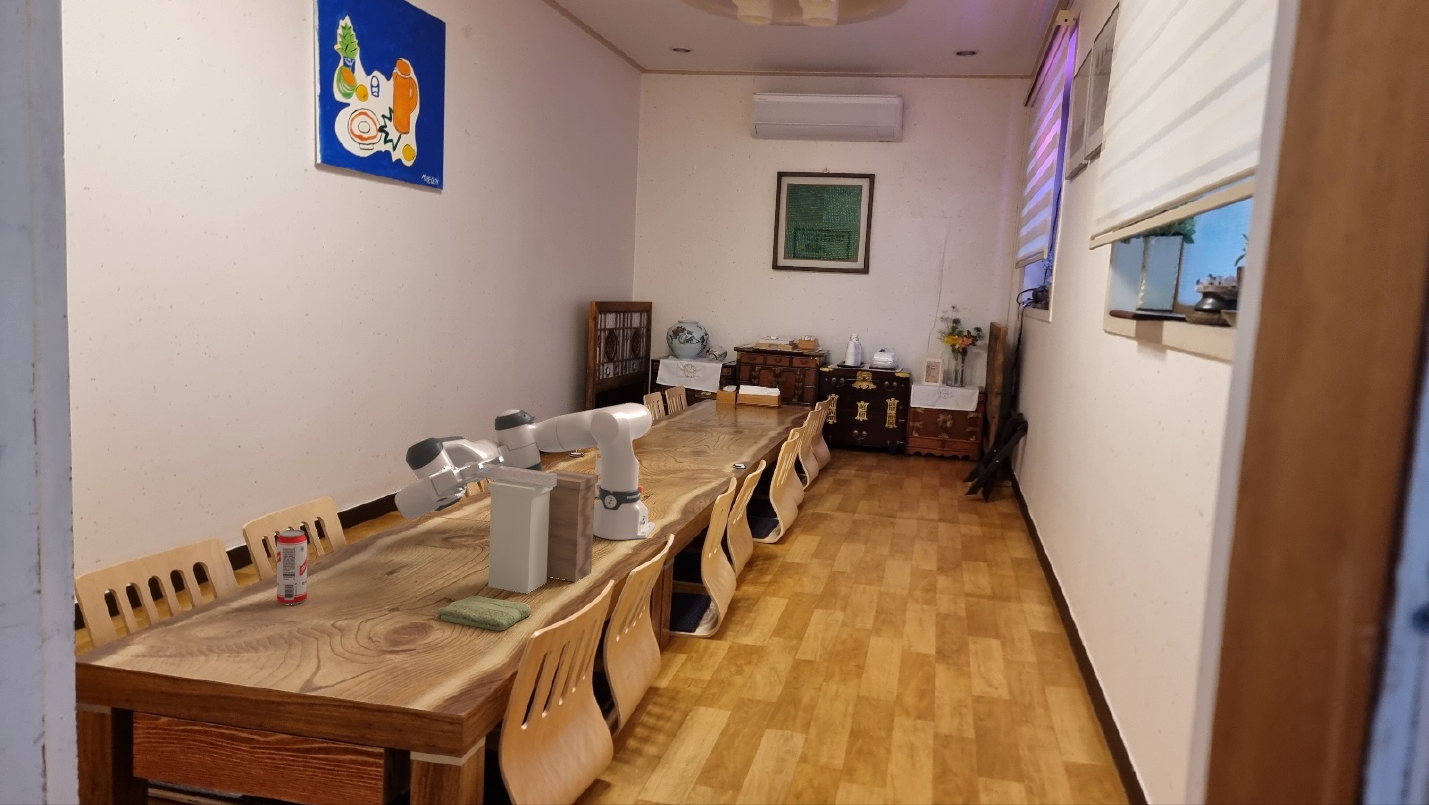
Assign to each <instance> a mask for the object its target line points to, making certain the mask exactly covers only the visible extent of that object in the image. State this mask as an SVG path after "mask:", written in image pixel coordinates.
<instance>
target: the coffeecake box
mask: <svg viewBox="0 0 1429 805" xmlns="http://www.w3.org/2000/svg"><path fill="white" fill-rule="evenodd" d="M594 464H595V465H594V466H595V467H594V474H595V475H598V483H596V484H595V498H599V487H600V486H601V455H600V450H599V446H596V447H595V463H594Z"/></svg>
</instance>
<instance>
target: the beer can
mask: <svg viewBox="0 0 1429 805" xmlns="http://www.w3.org/2000/svg"><path fill="white" fill-rule="evenodd" d="M307 597H308V539H307V536H306V535H305V531H304V530H300V529H287V530H282V531H281V532H279V535H278V537H277V539H276V601H277V602H279V603H280V604H281V603H282V604H281V605H283V604H289V605H288V606H295V605H294V604H297V605H300V604H302V603H303V602H304V601H306V599H307ZM299 603H300V604H299ZM291 604H292V605H291Z"/></svg>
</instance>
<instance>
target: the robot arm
mask: <svg viewBox="0 0 1429 805" xmlns="http://www.w3.org/2000/svg"><path fill="white" fill-rule="evenodd" d="M536 419H537V418H536V416H532V415H531V414H530V413H528V412H527V411H525V410H523V409H515V408H514V409H513V408H512V409H508V410H505V411H503V412H501V413H500V414H499V415H497V416H496V417H495V418H494V430H495V431H496V438H497V441H496V440H493V439H489V438H486V439H485V438H484V439H483V438H482V439H479V440H475V441H473V442H472V441H471V440H468V439H466V438H465V437H463V436H462V435H461V436H459V435H458V436H457V435H456V436H445V437H432V436H431V437H426V438H422V439H419V440H418V441H416V442H414V443H412V444H411V445H410V446H409V447H408V448H407V451H406V455H405V462H406V463H407V465H408V466H409V468H410V469H411V470H412V471H413V473H414V475H415V477H416V478H417V480H415V481H413V482H411V483H409V484H408V485H406V486H405V487H404V488H402V489H400V491H398V492H397V493H396V494H395V496H394V503H395V506H396V508H397V510H398V512H399V513H400V514H401V516H403V518H404V519H408V520H413V519H417V518H419V517H422V516H425V515H428V514H431V513H432V512H441V511H442V510H445V509H447V508H449V507H451V506H453V505H455V504H457V503H458V502H460V501H461V500H462V499H463V497H464V495H465V494H466V491H467V488H468V486H469V484H471V483H480V482H482V481H484V480H486V479H485V478H478V477H476V475H474V476H473V474H474V473H475V472H478V471H480V470H482V469H483V466H482V464H481V463H486V464H493V465H500V466H507V467H514V468H521V469H528V470H535V471H542V472H543V464H542V463H543V461H542V460H541V455H540V451H542V452H545V453H563V452H569V451H570V452H573V451H576V450H584V449H588V448H589V449H590V448H596V446H599V450H600V455H601V486H600V487H599V497H598V501H596V502H594V523H593V536H596V537H598V538H602V539H607V540H614V541H615V540H616V541H617V540H618V541H620V540H621V541H624V540H627V541H628V540H634V539H647V537H649V535H650V534H651V533H652V532H653V530H654V528H656V523H655V522H653V521H649V509H648V507H647V506H646V505H645V504H644V503H643V502H642V500H641V494H642V493H643V491H644V487H643V486H642V485H641V486H639V471H640V463H639V460H638V459H637V457H636V456H635V451H634V447H633V441H634V440H636V439H641V437H643V436H644V435H645V434H647V432H649V431H650V429H651V428H652V425H653V416H652V413H651V411H650V410H649V408H648V407H647V406H645V405H643V404H641V403H635V402H628V403H627V402H626V403H621V404H617V405H611V406H606V407H605V406H604V407H601V408H595V409H589V410H585V411H578V412H573V413H566V414H562V415H558V416H553V417H551V418H547V419H544V420H543V421H540V422H534V421H535V420H536ZM471 461H472V462H479V463H476V464H474V465H472V466H471V465H467V466H465V463H468V462H471Z"/></svg>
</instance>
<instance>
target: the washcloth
mask: <svg viewBox="0 0 1429 805" xmlns="http://www.w3.org/2000/svg"><path fill="white" fill-rule="evenodd" d="M532 612H533V611H532V608H531V606H530V605H529V604H527V603H525V602H513V601H509V600H507V599H504V600H503V599H498V598H497V599H496V598H491V597H490V598H489V597H485V596H480V595H471V596H467V597H464V598H462V599H458V600H456V601H452V602H451V603H449V605H447V606H442V607H439V608H438V609H437V614H438V615H439V616H440V620H441V621H443V622H449V623H456V624H459V625H465V626H471V627H474V628H481V629H486V630H492V631H496V632H497V631H498V632H502V631H505V630H507V629H508V628H510V627H512V626H514V625H515V623H517V622H519V620H520V621H523V620H524V619H526V618H527V617H528V616H531V615H532ZM525 617H526V618H525Z"/></svg>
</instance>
